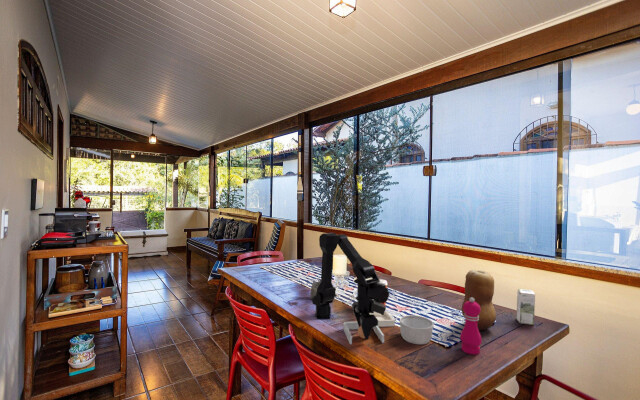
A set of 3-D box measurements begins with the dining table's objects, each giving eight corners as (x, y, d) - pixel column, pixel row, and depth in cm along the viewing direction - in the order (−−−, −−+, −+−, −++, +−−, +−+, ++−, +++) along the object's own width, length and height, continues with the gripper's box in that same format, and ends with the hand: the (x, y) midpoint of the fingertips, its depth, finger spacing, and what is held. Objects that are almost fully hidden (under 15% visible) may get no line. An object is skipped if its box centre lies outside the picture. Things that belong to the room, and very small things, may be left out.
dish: (371, 327, 138) (371, 321, 138) (364, 317, 149) (365, 311, 149) (394, 326, 139) (394, 320, 139) (386, 316, 150) (386, 311, 150)
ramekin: (428, 349, 119) (429, 331, 119) (394, 340, 126) (395, 323, 126) (436, 336, 130) (436, 319, 130) (404, 328, 137) (405, 312, 137)
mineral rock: (337, 299, 173) (338, 281, 173) (325, 304, 165) (325, 285, 164) (319, 294, 181) (319, 276, 181) (307, 299, 173) (307, 280, 173)
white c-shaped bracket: (349, 344, 122) (349, 336, 122) (343, 329, 136) (343, 322, 136) (384, 342, 124) (384, 335, 124) (374, 327, 137) (374, 321, 137)
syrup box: (530, 320, 147) (531, 289, 147) (534, 325, 142) (535, 293, 141) (516, 318, 149) (517, 288, 149) (519, 323, 144) (520, 292, 143)
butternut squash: (502, 334, 133) (504, 274, 132) (473, 336, 131) (475, 275, 130) (480, 320, 147) (482, 266, 146) (454, 322, 144) (455, 267, 144)
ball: (359, 341, 125) (359, 328, 125) (356, 335, 130) (356, 323, 130) (371, 340, 126) (371, 328, 125) (368, 334, 131) (368, 322, 130)
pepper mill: (456, 346, 122) (457, 294, 121) (474, 345, 123) (475, 294, 122) (466, 355, 115) (468, 301, 114) (485, 355, 115) (487, 300, 115)
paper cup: (387, 311, 156) (387, 283, 155) (371, 310, 157) (371, 282, 157) (387, 306, 163) (387, 279, 163) (372, 304, 165) (372, 278, 165)
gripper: (391, 303, 119) (391, 344, 119) (377, 288, 138) (376, 323, 138) (362, 304, 118) (362, 345, 118) (352, 288, 136) (351, 324, 137)
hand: (363, 334), depth 128 cm, fingers open, 9 cm apart
